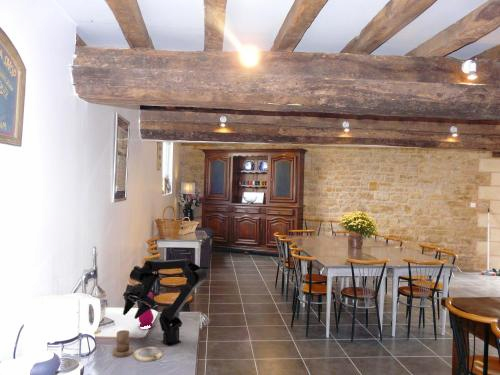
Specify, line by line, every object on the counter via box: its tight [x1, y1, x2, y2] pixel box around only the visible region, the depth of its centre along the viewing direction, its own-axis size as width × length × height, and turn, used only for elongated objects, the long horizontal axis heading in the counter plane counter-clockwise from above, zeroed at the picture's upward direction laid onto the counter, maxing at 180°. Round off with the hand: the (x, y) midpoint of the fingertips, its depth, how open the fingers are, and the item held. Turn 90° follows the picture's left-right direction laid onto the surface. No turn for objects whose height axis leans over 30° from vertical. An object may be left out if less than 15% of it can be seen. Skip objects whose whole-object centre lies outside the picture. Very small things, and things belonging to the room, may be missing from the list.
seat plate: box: [133, 346, 164, 362], centre depth 173 cm, size 12×12×3 cm
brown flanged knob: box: [112, 329, 134, 358], centre depth 174 cm, size 8×8×9 cm
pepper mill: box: [138, 292, 154, 329], centre depth 205 cm, size 7×7×20 cm
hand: (129, 316), depth 183 cm, fingers open, 9 cm apart
